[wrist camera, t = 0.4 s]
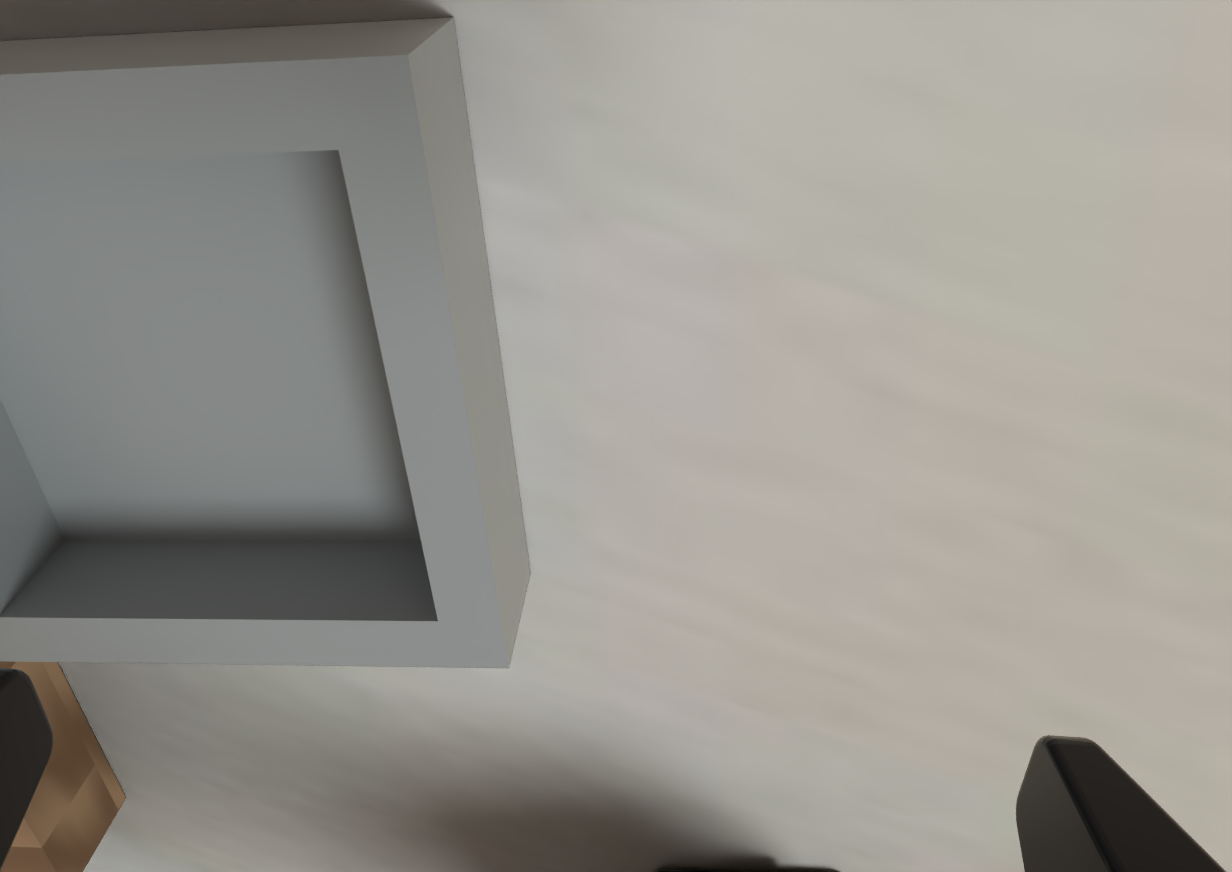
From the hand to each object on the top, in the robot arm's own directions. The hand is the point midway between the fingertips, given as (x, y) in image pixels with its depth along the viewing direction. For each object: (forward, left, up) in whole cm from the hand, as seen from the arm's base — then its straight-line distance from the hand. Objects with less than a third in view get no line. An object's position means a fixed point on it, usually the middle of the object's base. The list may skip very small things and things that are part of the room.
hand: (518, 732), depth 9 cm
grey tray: (-3, +10, -14) cm, 18 cm away
